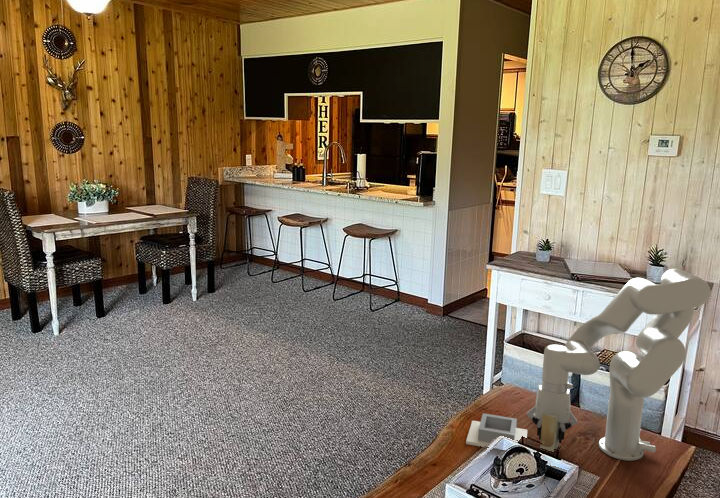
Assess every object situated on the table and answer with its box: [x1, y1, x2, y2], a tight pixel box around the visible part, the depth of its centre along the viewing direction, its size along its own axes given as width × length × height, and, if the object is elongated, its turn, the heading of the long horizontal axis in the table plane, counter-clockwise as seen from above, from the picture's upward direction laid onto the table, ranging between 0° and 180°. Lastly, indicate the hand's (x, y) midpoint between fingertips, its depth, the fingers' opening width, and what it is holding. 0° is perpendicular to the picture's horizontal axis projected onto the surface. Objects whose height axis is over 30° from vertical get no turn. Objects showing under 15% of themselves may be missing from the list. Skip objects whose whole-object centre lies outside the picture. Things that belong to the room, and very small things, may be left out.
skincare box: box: [539, 414, 561, 453], centre depth 174 cm, size 6×4×12 cm
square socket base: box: [465, 412, 528, 448], centre depth 180 cm, size 18×14×5 cm
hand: (550, 438), depth 174 cm, fingers closed on skincare box, 5 cm apart
